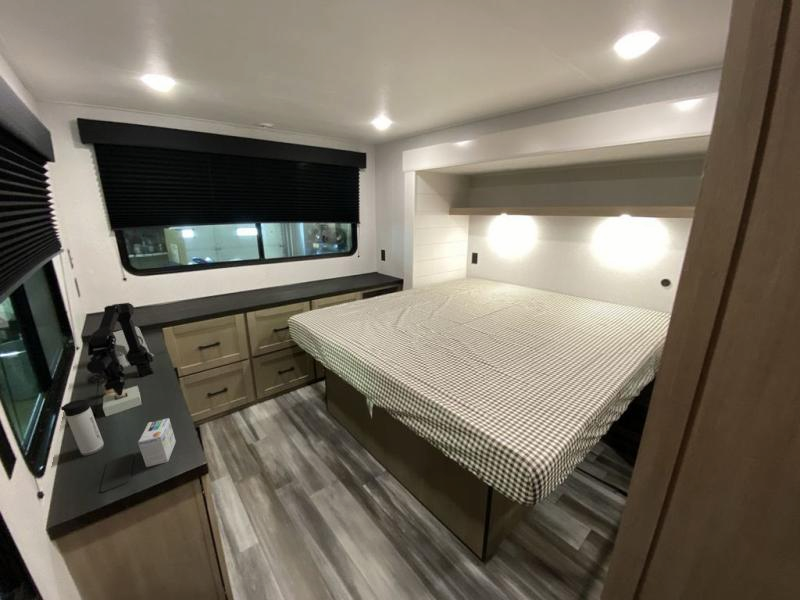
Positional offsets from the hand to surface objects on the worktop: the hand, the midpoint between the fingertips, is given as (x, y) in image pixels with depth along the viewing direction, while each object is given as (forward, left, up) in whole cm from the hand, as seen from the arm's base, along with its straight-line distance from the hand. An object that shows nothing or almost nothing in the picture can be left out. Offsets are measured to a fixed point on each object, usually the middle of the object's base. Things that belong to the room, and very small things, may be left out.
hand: (120, 393), depth 142 cm
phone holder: (-50, +5, -6) cm, 51 cm away
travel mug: (+28, -10, -6) cm, 30 cm away
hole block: (0, 0, -6) cm, 6 cm away
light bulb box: (+48, +9, -6) cm, 49 cm away
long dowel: (0, 0, -4) cm, 4 cm away
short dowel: (-14, -5, -6) cm, 16 cm away
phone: (+48, -3, -6) cm, 49 cm away
